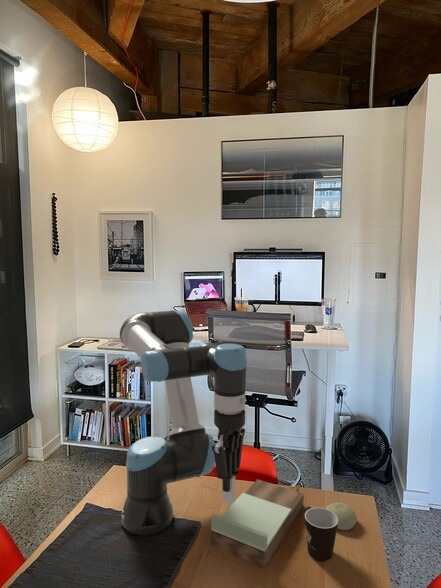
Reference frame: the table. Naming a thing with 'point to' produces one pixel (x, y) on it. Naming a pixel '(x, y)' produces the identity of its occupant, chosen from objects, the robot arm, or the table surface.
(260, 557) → the brown wooden shallow box
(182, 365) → the robot arm
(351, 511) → the sea urchin shell
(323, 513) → the coffee mug
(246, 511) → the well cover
